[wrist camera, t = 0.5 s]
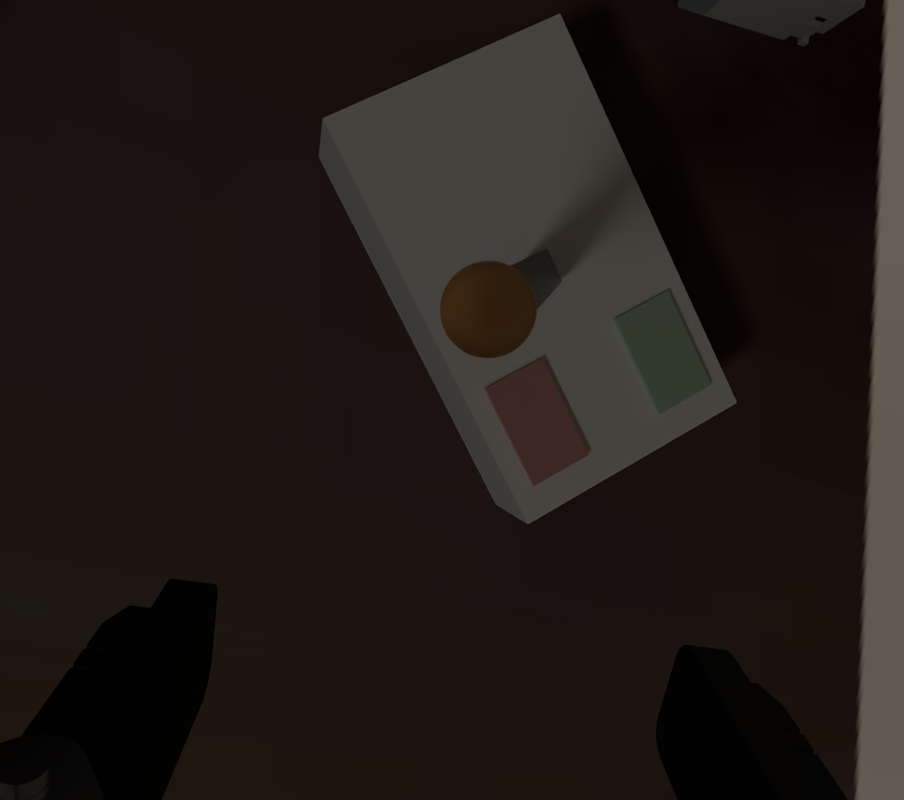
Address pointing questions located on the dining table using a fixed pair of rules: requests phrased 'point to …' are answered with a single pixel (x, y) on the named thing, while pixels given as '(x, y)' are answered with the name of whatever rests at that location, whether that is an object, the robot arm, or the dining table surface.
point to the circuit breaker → (777, 15)
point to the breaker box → (516, 238)
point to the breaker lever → (496, 303)
